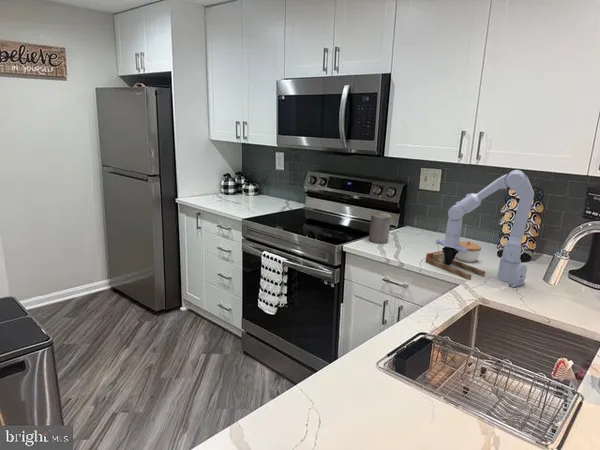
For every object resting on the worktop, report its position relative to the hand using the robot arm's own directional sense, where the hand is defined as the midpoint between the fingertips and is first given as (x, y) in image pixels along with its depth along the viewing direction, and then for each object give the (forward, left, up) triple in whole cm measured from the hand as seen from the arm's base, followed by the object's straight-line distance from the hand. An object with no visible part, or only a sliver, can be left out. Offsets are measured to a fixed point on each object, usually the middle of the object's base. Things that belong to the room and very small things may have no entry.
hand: (448, 264), depth 182 cm
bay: (-3, 0, -2) cm, 4 cm away
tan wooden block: (+4, 0, -1) cm, 4 cm away
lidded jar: (+3, -16, -2) cm, 16 cm away
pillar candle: (+43, 0, -2) cm, 43 cm away
